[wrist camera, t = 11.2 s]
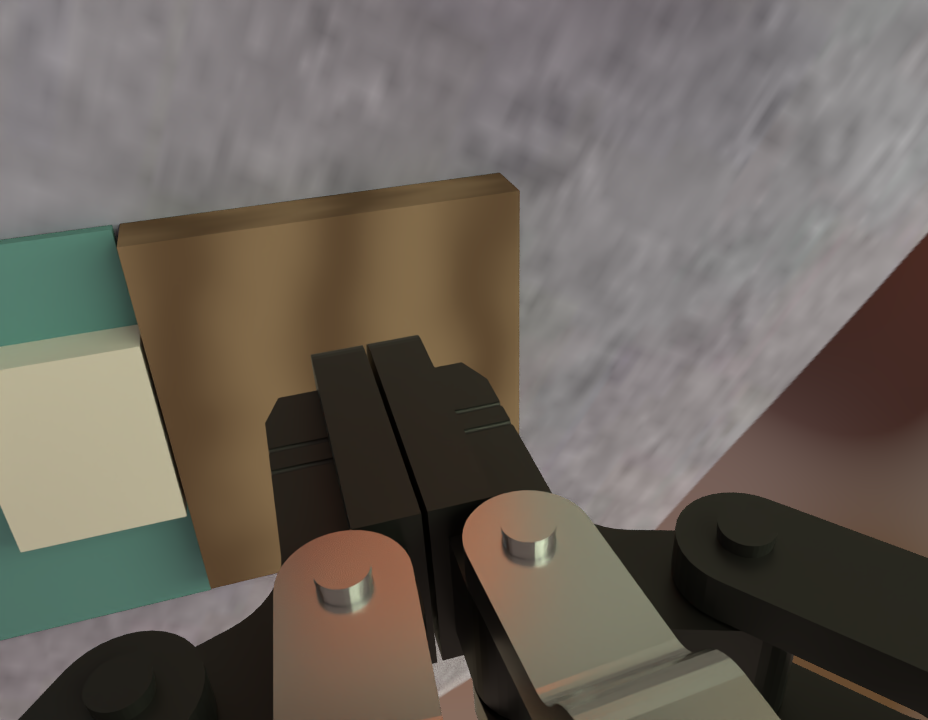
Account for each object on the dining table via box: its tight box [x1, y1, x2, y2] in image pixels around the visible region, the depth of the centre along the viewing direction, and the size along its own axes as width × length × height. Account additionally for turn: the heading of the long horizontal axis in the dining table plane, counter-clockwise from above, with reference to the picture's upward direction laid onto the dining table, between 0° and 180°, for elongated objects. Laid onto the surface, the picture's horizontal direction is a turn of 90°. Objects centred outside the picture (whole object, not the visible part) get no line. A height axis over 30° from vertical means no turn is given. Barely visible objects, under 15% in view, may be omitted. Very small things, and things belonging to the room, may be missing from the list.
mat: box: [0, 225, 211, 641], centre depth 36 cm, size 11×20×1 cm, turn 2°
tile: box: [0, 324, 187, 552], centre depth 35 cm, size 7×9×2 cm
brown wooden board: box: [117, 173, 520, 589], centre depth 38 cm, size 16×18×2 cm
